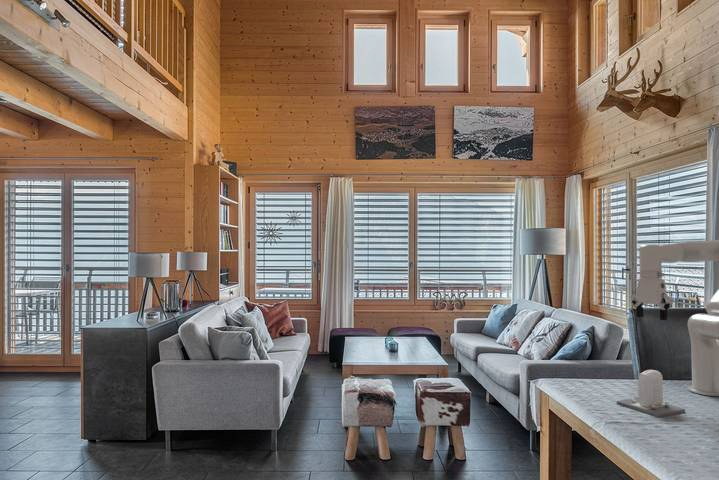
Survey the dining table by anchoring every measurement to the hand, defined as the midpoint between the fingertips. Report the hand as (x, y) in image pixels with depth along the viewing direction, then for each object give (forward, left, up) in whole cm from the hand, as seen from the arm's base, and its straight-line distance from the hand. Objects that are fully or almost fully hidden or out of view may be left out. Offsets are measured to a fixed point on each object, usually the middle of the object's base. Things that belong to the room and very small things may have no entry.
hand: (651, 318), depth 188 cm
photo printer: (+16, +10, -29) cm, 35 cm away
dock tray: (+16, +10, -30) cm, 36 cm away
